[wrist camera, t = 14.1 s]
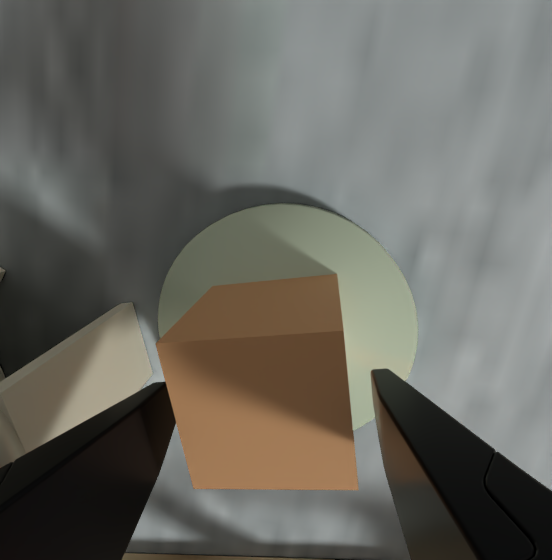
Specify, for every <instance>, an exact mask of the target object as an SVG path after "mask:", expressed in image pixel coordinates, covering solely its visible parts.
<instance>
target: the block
mask: <svg viewBox="0 0 552 560" xmlns="http://www.w3.org/2000/svg"><path fill="white" fill-rule="evenodd" d="M156 347H157V351H158V355H159V359H160V363H161V366H162V370H163V374H164V378H165V382H166V385H167V389H168V393H169V397H170V401H171V404H172V408H173V412H174V416H175V420H176V424H177V427H178V431H179V435H180V439H181V443H182V446H183V450H184V454H185V458H186V462H187V465H188V469H189V473H190V477H191V481H192V484H193V488H194V489H278V490H358V479H357V468H356V458H355V447H354V436H353V425H352V415H351V404H350V393H349V383H348V372H347V361H346V351H345V340H344V329H343V321H342V312H341V303H340V295H339V286H338V277H337V274H330V275H320V276H310V277H299V278H289V279H279V280H268V281H258V282H248V283H238V284H227V285H217V286H212V287H211V288H210V289H209V290H208V291H207V292H206V293H205V294H204V295H203V296H202V297H201V298H200V299H199V300H198V301H197V302H196V303H195V304H194V305H193V306H192V307H191V308H190V309H189V310H188V311H187V312H186V313H185V314H184V315H183V316H182V317H181V318H180V319H179V320H178V321H177V322H176V323H175V324H174V325H173V326H172V327H171V328H170V329H169V330H168V331H167V332H166V333H165V334H164V336H163V337H162V338H161V339H160V340H159V341H158V342H157V343H156Z"/></svg>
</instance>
